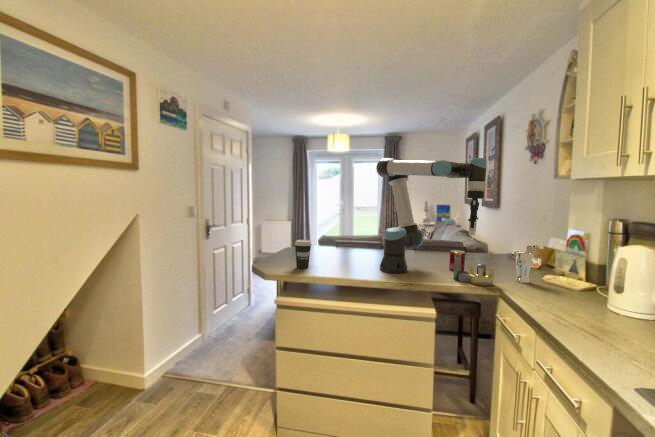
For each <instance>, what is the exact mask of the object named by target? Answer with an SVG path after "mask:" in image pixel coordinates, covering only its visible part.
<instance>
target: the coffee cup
mask: <svg viewBox="0 0 655 437" xmlns="http://www.w3.org/2000/svg"><path fill="white" fill-rule="evenodd" d="M311 246H312V242H311V240H309V239H296V240H295V242H294V248H295V264H296V266H295V267H296V269H299V270H305V269H306V270H307V269H309V264H310V256H311V248H312V247H311Z"/></svg>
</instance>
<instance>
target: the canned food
mask: <svg viewBox="0 0 655 437" xmlns="http://www.w3.org/2000/svg"><path fill="white" fill-rule="evenodd" d="M455 252H461V253H462V255H461V267H460V271H463V272H464V271H465V265H466V264H465V263H466V262H465V261H466V252H465V251H463V250H458V249H451V250H450V251H449V265H448V266H449V268H448V269H449V271H451V270H452V271H451V272H454V260H455V255H454V253H455Z"/></svg>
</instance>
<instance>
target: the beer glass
mask: <svg viewBox="0 0 655 437" xmlns="http://www.w3.org/2000/svg"><path fill="white" fill-rule="evenodd" d="M532 263H533V252H530V251H524V250H517V252H516V256H515V269H516V276H515V282H517V283H521V284H529V283H530V278H529V277H530V271H531V268H532Z"/></svg>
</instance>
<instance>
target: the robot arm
mask: <svg viewBox="0 0 655 437" xmlns="http://www.w3.org/2000/svg"><path fill="white" fill-rule="evenodd" d="M487 164H488V163H487V159H486V158H483V157H472V158H470V160H469V162H456V161H449V160H446V159H444V160H443V159H439V160H402V159H400V158H391V157H383V158H381V159H380V160H379V161H378V162H377V164H376V168H375V169H376V173H377V175H378V176H380V177H382V178H384V179H387V183H388V184H389V186H391V188H392V195H393V198H394V200H393V201H394V204H395V210H396V216H397V220H398V226H397V227H389V228H386V229H385V230H384V236H383V238H384V239H383V256H382V259H381V262H380V264H379V271H381V272H385V273H388V274H389V273H391V274H403V273H404V274H405V273H408V271H409V270H408V264H407V260H406V251H409V250H414V249H415V250H416V249H418V248H420V247H421V246H422V245H423V242H424V240H425V239H424V238H425V237H424V234H423V232H422V231H421V229H420V228H419V227H418V224H417V223H416V222H415V220H414V215H413V209H412V205H411V199H410V194H409V190H408V185H407V182H408V181H409V176H421V177H423V176H424V177H443V178H444V177H445V178H449V179H467V180H468V181H467V193H466V198H467V199H471V201H470V202H469V206H470V207H469V209H470V210H469V211H470V213H469V219H468V220H467V221H468V222H469V224H468V235H469V236H475V235H476V233H477V232H476V231H477V222H478V221H477V220H479V217H478V210H479V207H480V202H479V200H481V199H484V198H485V191H484V190H485V186H487V183H486V177H487V176H486V175H487Z"/></svg>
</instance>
